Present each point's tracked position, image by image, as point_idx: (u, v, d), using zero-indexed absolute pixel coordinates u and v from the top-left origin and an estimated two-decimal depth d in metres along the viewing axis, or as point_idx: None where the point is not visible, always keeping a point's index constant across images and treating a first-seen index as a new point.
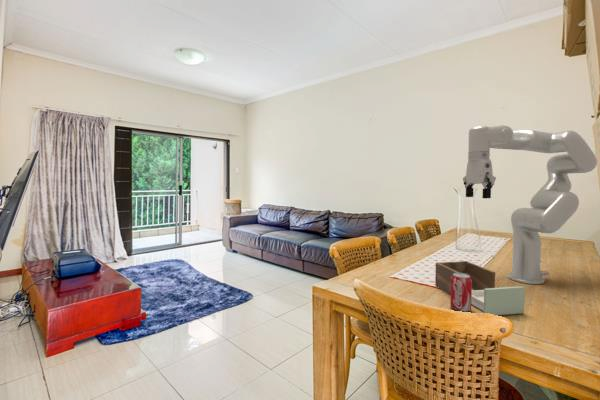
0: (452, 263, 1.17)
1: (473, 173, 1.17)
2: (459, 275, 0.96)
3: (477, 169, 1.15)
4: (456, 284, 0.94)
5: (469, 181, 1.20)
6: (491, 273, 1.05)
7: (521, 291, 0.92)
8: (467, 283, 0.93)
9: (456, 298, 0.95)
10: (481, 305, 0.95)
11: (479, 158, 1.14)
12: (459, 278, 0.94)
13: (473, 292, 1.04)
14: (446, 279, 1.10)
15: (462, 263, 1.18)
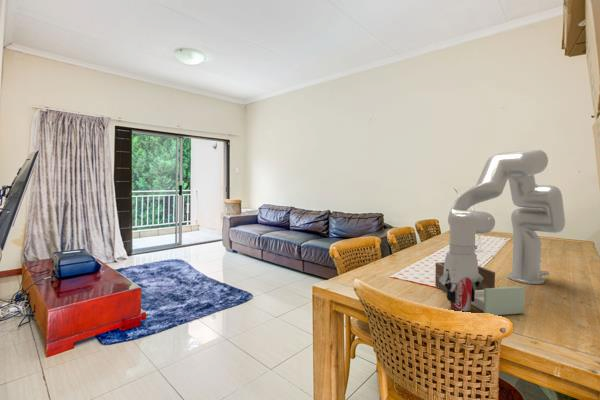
0: None
1: (467, 271, 0.93)
2: None
3: (473, 266, 0.94)
4: (456, 284, 0.94)
5: (458, 281, 0.94)
6: (491, 273, 1.05)
7: (521, 291, 0.92)
8: (467, 283, 0.93)
9: (456, 298, 0.95)
10: (481, 305, 0.95)
11: (474, 253, 0.94)
12: None
13: None
14: None
15: None
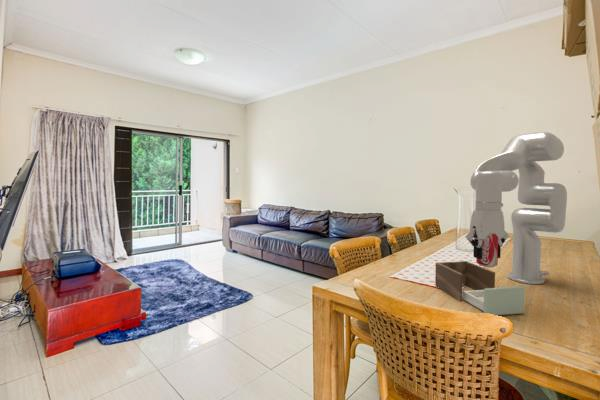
0: (452, 263, 1.17)
1: (494, 227, 0.96)
2: None
3: (499, 222, 0.96)
4: None
5: (485, 237, 0.96)
6: (491, 273, 1.05)
7: (521, 291, 0.92)
8: (494, 239, 0.95)
9: (483, 254, 0.97)
10: (481, 305, 0.95)
11: None
12: None
13: (473, 292, 1.04)
14: (446, 279, 1.10)
15: (462, 263, 1.18)
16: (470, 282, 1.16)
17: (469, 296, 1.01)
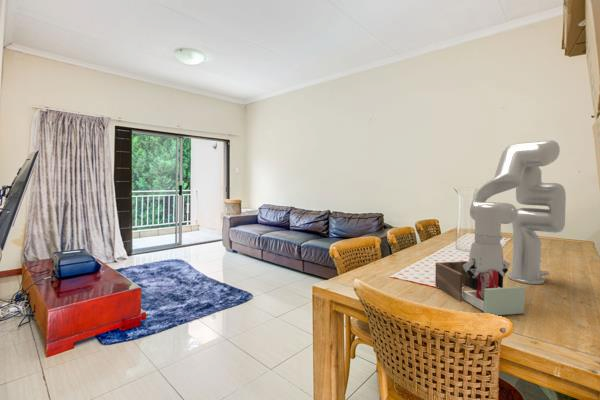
0: (452, 263, 1.17)
1: (493, 260, 0.96)
2: None
3: (498, 255, 0.97)
4: (483, 276, 0.98)
5: (484, 270, 0.97)
6: None
7: (521, 291, 0.92)
8: (494, 276, 0.96)
9: (483, 290, 0.98)
10: (481, 305, 0.95)
11: None
12: None
13: (473, 292, 1.03)
14: (446, 279, 1.10)
15: (462, 263, 1.18)
16: None
17: (469, 296, 1.01)
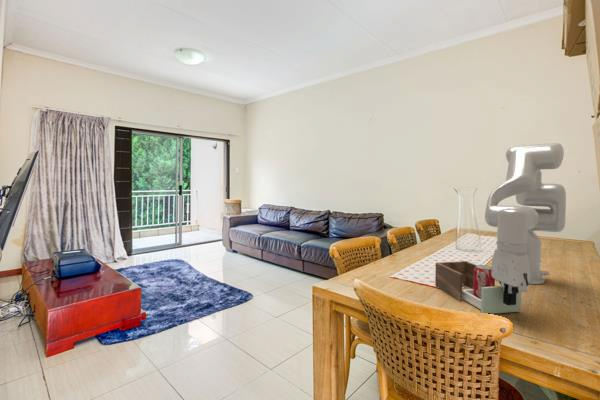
0: (452, 263, 1.17)
1: None
2: (482, 267, 1.01)
3: None
4: (479, 276, 0.99)
5: None
6: None
7: None
8: (490, 275, 0.97)
9: (480, 289, 0.99)
10: (478, 303, 0.96)
11: None
12: (482, 270, 0.99)
13: (471, 291, 1.05)
14: (446, 279, 1.10)
15: (462, 263, 1.18)
16: (470, 282, 1.16)
17: (467, 295, 1.02)
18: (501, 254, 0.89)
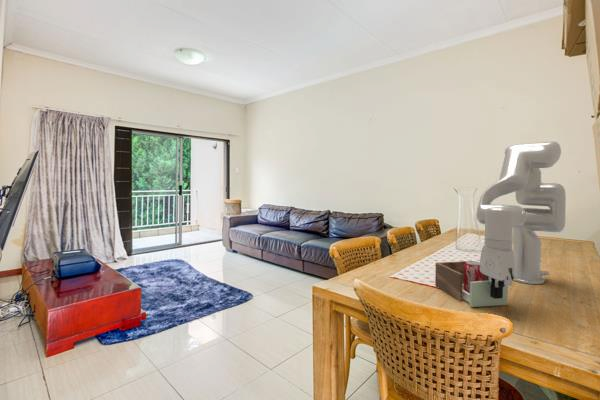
0: (452, 263, 1.17)
1: None
2: (471, 263, 1.06)
3: None
4: (468, 271, 1.04)
5: None
6: None
7: None
8: (479, 270, 1.03)
9: (469, 284, 1.04)
10: (468, 297, 1.02)
11: None
12: (472, 265, 1.04)
13: None
14: (446, 279, 1.10)
15: (462, 263, 1.18)
16: None
17: None
18: (488, 250, 0.94)
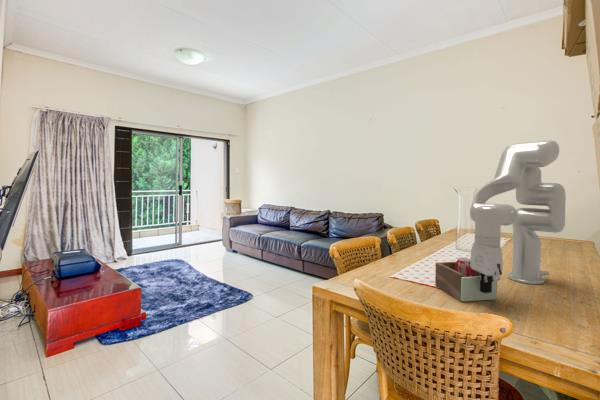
0: (452, 263, 1.17)
1: None
2: (463, 259, 1.11)
3: None
4: (460, 267, 1.09)
5: None
6: None
7: None
8: None
9: None
10: None
11: None
12: (463, 262, 1.08)
13: None
14: (446, 279, 1.10)
15: None
16: None
17: None
18: (478, 247, 0.99)
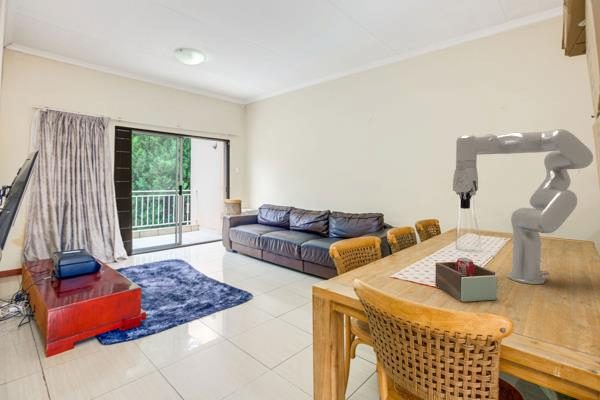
0: (452, 263, 1.17)
1: None
2: (463, 259, 1.10)
3: None
4: (460, 267, 1.09)
5: None
6: (491, 273, 1.05)
7: (494, 279, 1.03)
8: (470, 266, 1.07)
9: None
10: None
11: None
12: (463, 262, 1.08)
13: None
14: (446, 279, 1.10)
15: None
16: None
17: None
18: (458, 171, 1.20)
